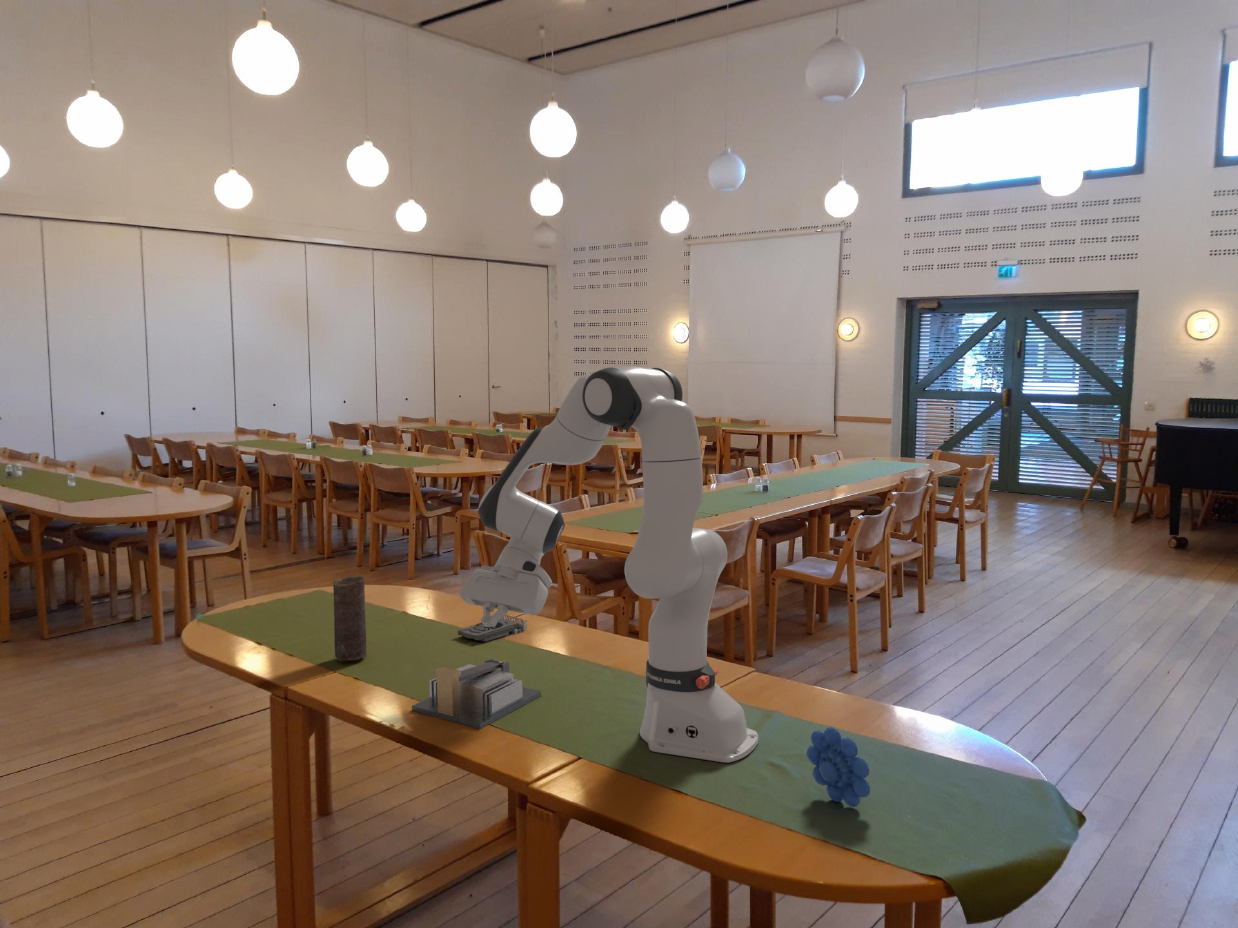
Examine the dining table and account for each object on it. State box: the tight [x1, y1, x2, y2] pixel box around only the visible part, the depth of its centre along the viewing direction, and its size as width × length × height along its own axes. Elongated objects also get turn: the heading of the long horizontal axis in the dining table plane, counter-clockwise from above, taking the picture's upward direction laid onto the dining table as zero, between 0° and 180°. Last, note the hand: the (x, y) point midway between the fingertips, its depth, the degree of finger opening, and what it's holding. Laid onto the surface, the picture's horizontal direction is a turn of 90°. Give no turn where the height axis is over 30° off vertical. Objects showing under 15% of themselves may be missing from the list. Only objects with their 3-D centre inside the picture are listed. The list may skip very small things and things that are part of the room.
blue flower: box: [806, 726, 871, 808], centre depth 141 cm, size 12×7×12 cm, turn 43°
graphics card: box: [457, 614, 528, 642], centre depth 232 cm, size 17×4×12 cm
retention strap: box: [459, 659, 505, 682], centre depth 183 cm, size 15×3×1 cm, turn 149°
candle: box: [332, 575, 368, 662], centre depth 210 cm, size 8×7×20 cm
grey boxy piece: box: [411, 658, 542, 730], centre depth 184 cm, size 18×20×10 cm
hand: (487, 624), depth 185 cm, fingers closed
